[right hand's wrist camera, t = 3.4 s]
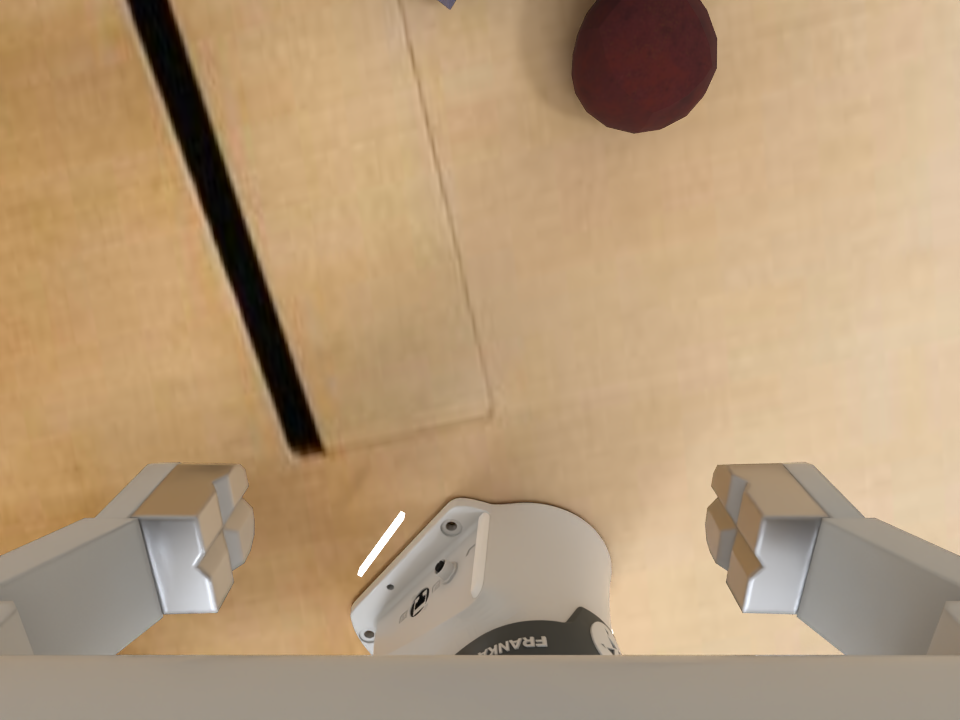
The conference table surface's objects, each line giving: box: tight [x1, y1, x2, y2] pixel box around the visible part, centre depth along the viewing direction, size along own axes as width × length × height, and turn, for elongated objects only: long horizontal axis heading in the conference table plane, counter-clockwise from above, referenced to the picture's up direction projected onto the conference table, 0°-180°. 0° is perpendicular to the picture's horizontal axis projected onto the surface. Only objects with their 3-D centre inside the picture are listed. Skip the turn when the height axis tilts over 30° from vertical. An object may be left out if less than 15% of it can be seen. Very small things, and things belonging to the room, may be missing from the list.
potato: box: [572, 0, 717, 133], centre depth 32 cm, size 7×8×7 cm
